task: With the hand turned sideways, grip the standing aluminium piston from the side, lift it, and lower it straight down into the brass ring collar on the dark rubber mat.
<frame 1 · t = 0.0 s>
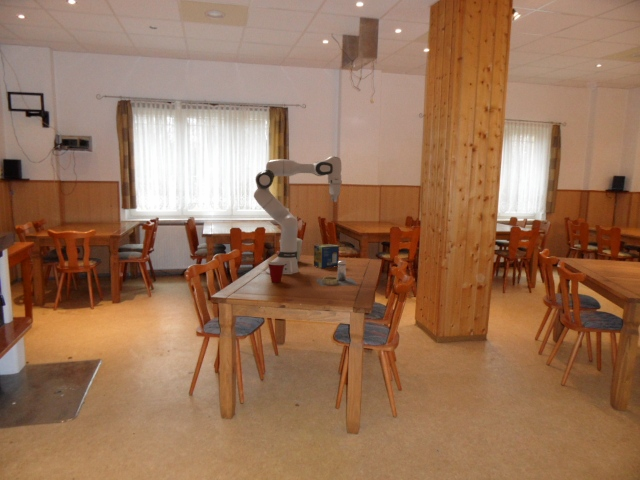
hand: (334, 201, 307), 48 cm above the table, fingers open, 8 cm apart
brass collar: (330, 284, 272), resting on rubber mat
plastic cup: (276, 281, 278), on the table
rubber mat: (336, 283, 276), on the table
protein box: (326, 266, 329), on the table
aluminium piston: (341, 280, 281), point 1 cm above the table, touching rubber mat
canister: (290, 262, 344), on the table
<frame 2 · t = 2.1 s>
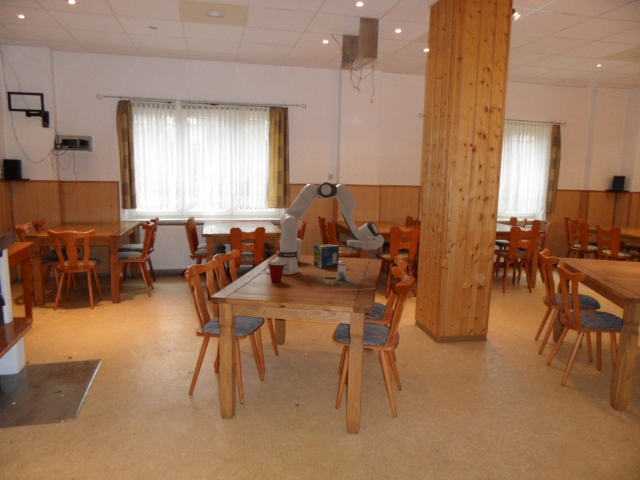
hand: (354, 245, 287), 22 cm above the table, fingers open, 8 cm apart
nothing on the table moved.
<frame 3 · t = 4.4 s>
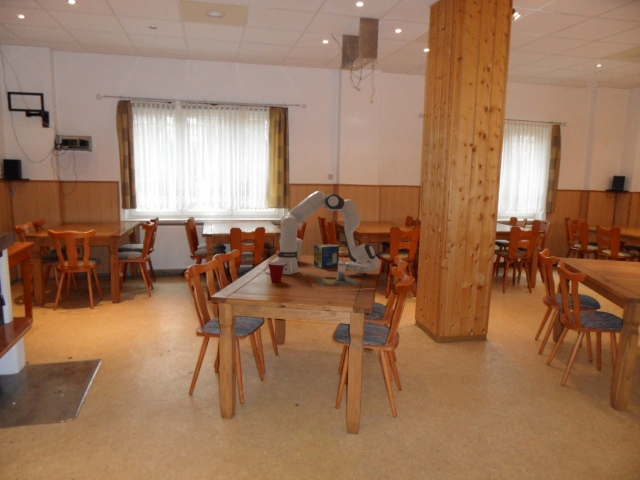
hand: (349, 268, 286), 7 cm above the table, fingers open, 8 cm apart
nothing on the table moved.
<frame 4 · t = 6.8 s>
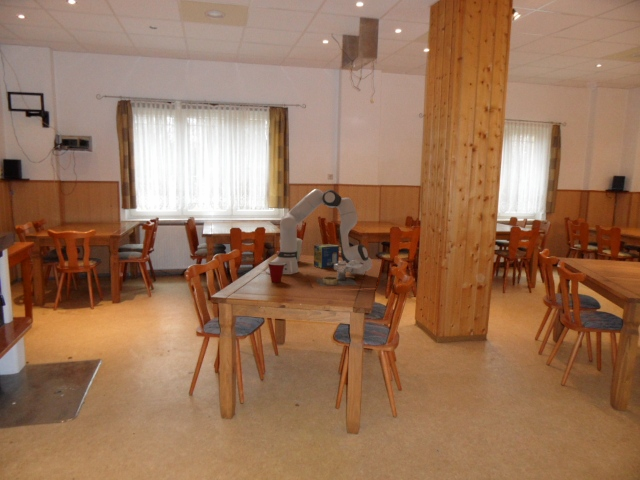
hand: (340, 270, 279), 8 cm above the table, fingers closed on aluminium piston, 5 cm apart
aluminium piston: (341, 280, 281), point 1 cm above the table, touching gripper, rubber mat
everything else where it was.
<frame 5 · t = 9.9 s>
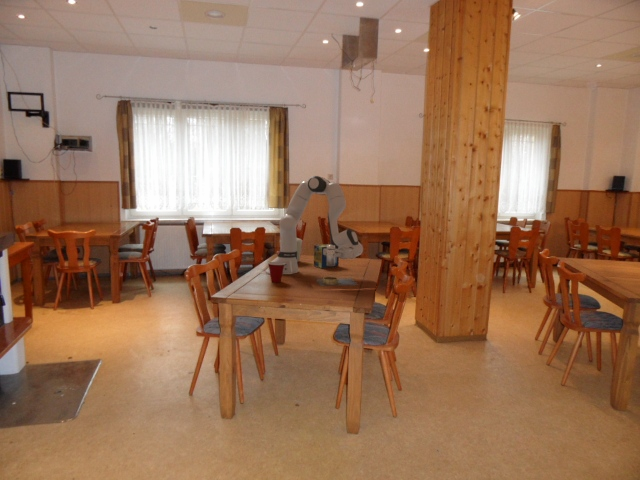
hand: (329, 254, 269), 18 cm above the table, fingers closed on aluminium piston, 5 cm apart
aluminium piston: (330, 265, 271), point 12 cm above the table, touching gripper
everything else where it was.
when the fingers open (9 cm above the table, at t = 12.8 s): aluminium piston drops 1 cm, resting on rubber mat.
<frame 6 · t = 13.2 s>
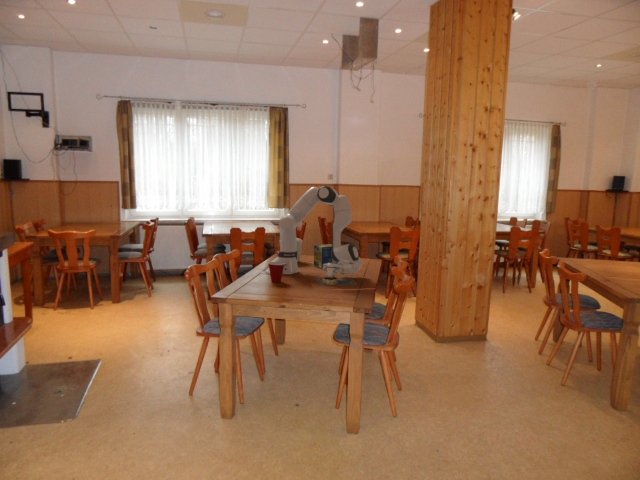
hand: (329, 270, 271), 9 cm above the table, fingers open, 8 cm apart
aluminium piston: (330, 283, 272), point 1 cm above the table, touching rubber mat
everything else where it was.
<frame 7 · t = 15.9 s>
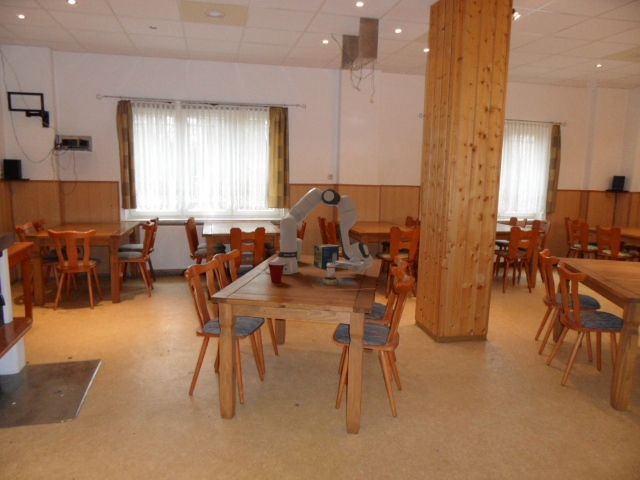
hand: (341, 267, 280), 9 cm above the table, fingers open, 8 cm apart
nothing on the table moved.
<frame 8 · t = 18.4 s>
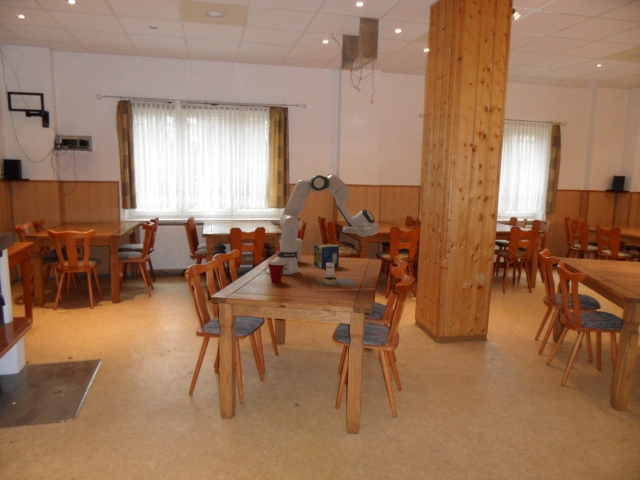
hand: (349, 231, 290), 30 cm above the table, fingers open, 8 cm apart
nothing on the table moved.
at the end: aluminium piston 0.0 cm off-centre on the brass collar, point 1.1 cm above the brass collar's base; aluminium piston tilted 1°; the gripper is holding nothing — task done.
